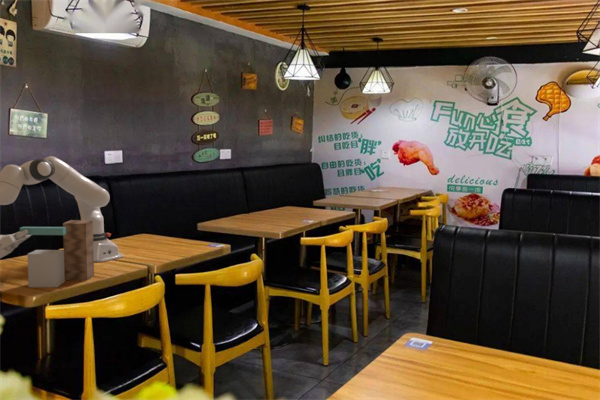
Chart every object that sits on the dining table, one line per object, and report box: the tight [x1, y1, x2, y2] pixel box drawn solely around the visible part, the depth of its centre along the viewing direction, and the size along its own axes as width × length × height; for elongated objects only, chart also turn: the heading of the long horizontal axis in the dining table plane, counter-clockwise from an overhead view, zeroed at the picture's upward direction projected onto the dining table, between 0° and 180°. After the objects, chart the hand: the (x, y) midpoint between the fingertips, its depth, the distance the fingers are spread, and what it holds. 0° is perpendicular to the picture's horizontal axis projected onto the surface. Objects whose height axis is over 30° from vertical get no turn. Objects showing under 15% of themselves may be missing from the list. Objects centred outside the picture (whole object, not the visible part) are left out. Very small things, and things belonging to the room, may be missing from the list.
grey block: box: [26, 249, 66, 288], centre depth 243 cm, size 12×9×14 cm
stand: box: [62, 219, 95, 282], centre depth 255 cm, size 10×10×26 cm
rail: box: [19, 226, 66, 236], centre depth 242 cm, size 18×4×3 cm, turn 93°
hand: (30, 229), depth 241 cm, fingers closed on rail, 3 cm apart
